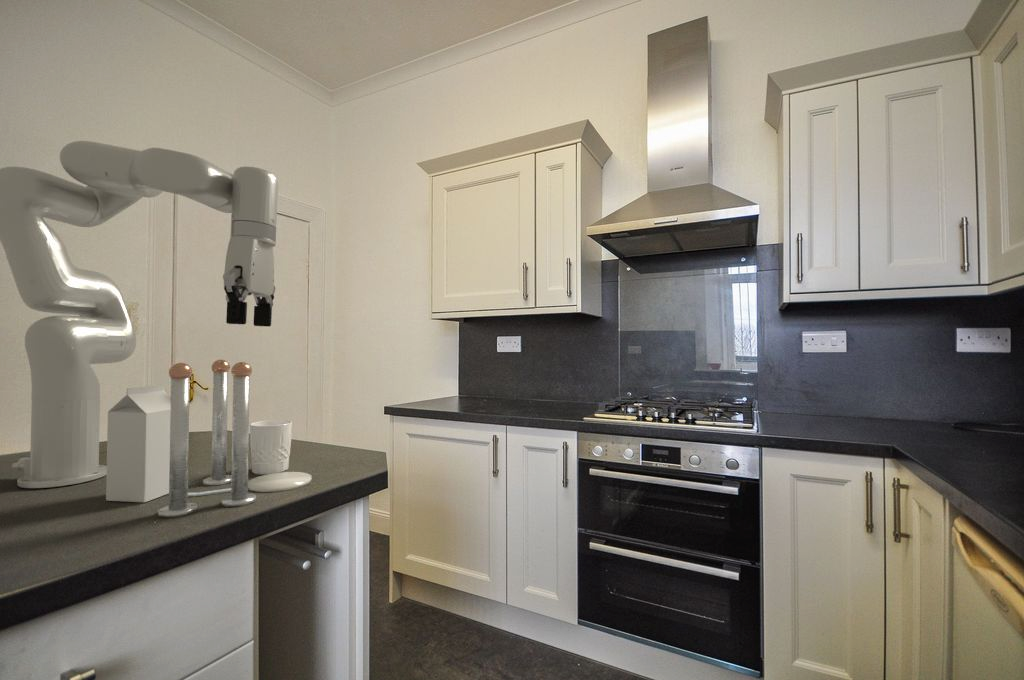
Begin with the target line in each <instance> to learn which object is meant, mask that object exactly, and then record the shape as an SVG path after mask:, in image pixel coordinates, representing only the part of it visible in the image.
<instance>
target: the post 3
mask: <svg viewBox="0 0 1024 680" xmlns="http://www.w3.org/2000/svg"><path fill="white" fill-rule="evenodd" d="M230 372H231V376H232V416H231V417H232V420H231V421H232V423H231V425H232V426H231V427H232V428H231V430H232V431H231V432H232V433H231V474H230V475H231V482H230V486H231V487H230V488H231V492H230V495H229V496H226V497H224V498H223V499H222V500H221V506H222V507H224V508H236V507H242V506H243V507H244V506H247V505H250V504H253V503H255V502H256V501H257V494H255V493H251V492H250V493H249V489H248V482H249V443H250V442H249V439H250V437H249V436H250V390H251V389H250V384H251V383H250V382H251V381H250V380H251V378H250V377H251V375H252V372H253V369H252V366H251V365H250V364H249V363H247V362H245V361H239V362H236V363H235V364H234V365H232V367H231V371H230Z"/></svg>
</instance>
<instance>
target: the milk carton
mask: <svg viewBox="0 0 1024 680" xmlns="http://www.w3.org/2000/svg"><path fill="white" fill-rule="evenodd" d="M170 411H171V395H169V394H168V393H167V392H166V391H165V384H160V385H159V384H158V385H150V386H139V387H127V388H126V395H125V396H123V397H122V398H121V399H120V400H119V401H118V402H117V403H116V404H114V406H112V407H111V408H110V409H109V410H108V411H107V429H106V430H107V432H106V433H107V434H106V435H107V436H106V437H107V438H106V439H107V440H106V443H107V444H106V447H107V448H106V466H107V475H106V476H105V477H106V478H105V480H106V481H105V482H106V487H105V488H106V489H105V491H106V492H105V493H106V494H105V501H106V502H107V501H109V502H125V503H126V502H128V503H130V502H131V503H147V502H149V501H150V502H151V501H152V500H155V499H158V498H160V497H163V496H165V495H169V462H170Z"/></svg>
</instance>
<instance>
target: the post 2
mask: <svg viewBox="0 0 1024 680" xmlns="http://www.w3.org/2000/svg"><path fill="white" fill-rule="evenodd" d="M230 368H231V365H230V363H229V362H228V361H227V360H225V359H216V360H215V361H214V362H213V363H212V365H211V371H212V373H213V374H212V377H213V378H212V379H213V380H212V420H211V421H212V424H211V425H212V426H211V427H212V428H211V429H212V430H211V431H212V432H211V476H209V477H206V478H204V479H203V480H202V485H204V486H207V487H208V486H209V487H210V486H212V487H213V486H215V487H216V486H222V485H226V484H227V485H228V484H231V474H227V459H228V458H227V454H228V453H227V451H228V450H227V448H228V445H227V443H228V442H227V441H228V402H229V401H228V399H229V397H228V396H229V395H228V392H229V389H228V386H229V372H230Z"/></svg>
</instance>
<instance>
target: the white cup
mask: <svg viewBox="0 0 1024 680" xmlns="http://www.w3.org/2000/svg"><path fill="white" fill-rule="evenodd" d="M292 431H293V421H292V420H288V419H271V420H270V419H269V420H260V421H255V422H251V423H249V436H250V437H249V439H250V442H249V443H250V457H251V472H252V473H253V474H255V475H268V474H273V473H281V472H286V471H287V470H288V469H289V467H290V465H289V464H290V455H291V445H292ZM285 470H286V471H285Z"/></svg>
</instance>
